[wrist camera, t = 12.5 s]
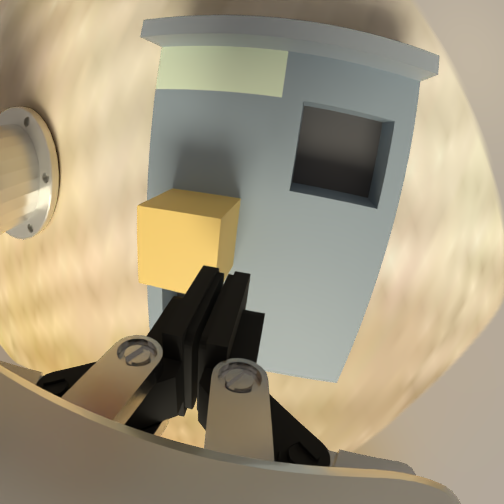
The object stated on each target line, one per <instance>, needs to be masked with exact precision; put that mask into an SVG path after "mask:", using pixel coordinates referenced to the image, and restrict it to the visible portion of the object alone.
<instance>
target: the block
mask: <svg viewBox="0 0 504 504" xmlns="http://www.w3.org/2000/svg"><path fill="white" fill-rule="evenodd" d="M240 201H241V198H235V197H228V196H222V195H215V194H209V193H202V192H195V191H188V190H181V189H173V188H172V189H170V190H168V191H166V192H164V193H162V194H160V195H158V196H156V197H153V198H151V199H149V200H147V201H145V202H143V203H141V204H140V205H138V206H137V247H138V276H139V283H143V284H147V285H151V286H155V287H159V288H163V289H167V290H171V291H175V292H179V293H184V294H186V292H187V290H188V289H189V287H190V286H191V284H192V282H193V281H194V279H195V278H196V276H197V274H198V273H199V271H200V270H201V268H202V267H203V265H205V266H211V267H216V268H219V272H221V273H224V281H225V279H226V277H227V275H228V274H229V272H230V270H231V268H232V266H233V261H234V252H235V243H236V235H237V226H238V218H239V210H240Z"/></svg>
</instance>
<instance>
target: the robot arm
mask: <svg viewBox="0 0 504 504" xmlns="http://www.w3.org/2000/svg"><path fill="white" fill-rule="evenodd" d="M58 188H59V170H58V160H57V154H56V150H55V145H54V142H53V139H52V136H51V133H50V131H49V129H48V127H47V125H46V123H45V122H44V120H43V119H42V118H41V116H40V115H39V114H38V113H36V112H35V111H34V110H33V109H30V108H27V107H12V108H8V109H6V110H4V111H3V112H1V113H0V234H2V233H4V232H6V233H8V234H9V235H10V236H12V237H14V238H17V239H23V240H24V239H29V238H31V237H33V236H35V235H37V234H39V233H40V232H41V231H42V230H44V229H45V227H46V226H47V225H48V223H49V222H50V220H51V217H52V215H53V213H54V210H55V206H56V202H57V196H58ZM250 275H251V274H249V273H244V272H238V271H235V272H234V275H232V274H228V276H227V278H226V280H225V283H224V273H221V272H219V268H216V267H211V266H205V265H203V267H202V268H201V270H200V271H199V273H198V274H197V276H196V278H195V279H194V281H193V282H192V284H191V286H190V287H189V289H188V290H187V292H186V294H185V295H184V297H179V296H173V297H172V299H171V300H170V302H169V303H168V305H167V306H166V308H165V309H164V311H163V312H162V314H161V315H160V317H159V318H158V320H157V321H156V323H155V324H154V326H153V327H152V329H151V330H150V332H149V333H148V335H147V336H142V335H133V336H128V337H125V338H122V339H121V340H119V341H118V342H116V343H115V344H114V345H113V346H112V347H111V348H110V349H109V350H108V351H107V352H106V353H105V354H104V355H103V356H102V357H101V358H100V359H99V360H98V361H97V362H93V363H89V364H85V365H81V366H77V367H73V368H69V369H64V370H60V371H55V372H52V373H49V374H46V375H45V376H43V374H42V372H39V371H35V370H31V369H28V368H24V367H20V366H16V365H13V364H10V363H6V362H3V361H0V504H461V503H460V501H459V500H458V498H457V496H456V495H455V494H454V493H453V492H452V491H451V490H450V489H449V488H447V487H446V486H444V485H442V484H440V483H438V482H435V481H433V480H430V479H427V478H423V477H420V476H416V474H415V473H414V471H413V469H412V468H411V467H409V466H408V465H407V464H405V463H402V462H398V461H392V460H386V459H381V458H375V457H370V456H366V455H361V454H356V453H352V452H348V451H343V450H339V451H338V452H333V451H329V450H328V449H327V448H326V447H325V445H324V444H323V443H322V442H321V441H320V440H319V439H317V438H316V437H315V436H314V435H313V434H312V433H311V432H310V431H308V430H307V429H306V428H305V427H304V426H303V425H302V424H301V423H300V422H299V421H297V420H296V419H295V418H294V417H293V416H292V415H291V414H290V413H289V412H288V411H287V410H286V409H285V408H283V407H282V406H281V405H280V404H279V403H278V402H277V401H276V400H275V399H274V398H273V397H272V396H271V395H270V394H269V384H268V377H267V374H266V372H265V371H264V369H263V368H262V367H261V366H260V365H258V364H257V358H258V352H259V347H260V341H261V335H262V330H263V324H264V318H265V313H261V312H255V311H249V310H246V303H247V297H248V290H249V283H250ZM223 283H224V285H223ZM196 399H197V411H198V421H199V423H200V424H201V425H202V426H203V428H204V429H205V430H206V434H205V445H204V448H200V447H196V446H192V445H188V444H184V443H180V442H176V441H173V440H169V439H166V438H163V437H160V436H161V435H162V433H163V432H164V430H165V429H166V427H167V425H168V422H169V421H168V419H170V418H172V417H175V416H178V415H179V416H183V417H184V415H185V413H186V410H187V408H189V409H193V407H194V405H195V402H196Z"/></svg>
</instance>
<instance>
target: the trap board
mask: <svg viewBox="0 0 504 504" xmlns="http://www.w3.org/2000/svg"><path fill="white" fill-rule="evenodd" d="M141 38H144V39H146V40H148V41H150V42H152V43H155V44H157V45H159V46H161V47H162V50H161V56H160V62H159V69H158V76H157V83H156V91H155V100H154V108H153V118H152V128H151V140H150V153H149V169H148V190H147V200H149V199H151V198H153V197H156V196H158V195H160V194H162V193H164V192H166V191H168V190H170V189H172V188H173V189H181V190H188V191H195V192H202V193H209V194H215V195H222V196H228V197H235V198H241V201H240V210H239V218H238V226H237V235H236V243H235V252H234V261H233V266H232V268H231V270H230V272H229V274H232V275H234V272H235V271H238V272H244V273H249V274H251V275H250V283H249V290H248V297H247V303H246V310H249V311H255V312H261V313H265V318H264V324H263V330H262V335H261V341H260V347H259V352H258V358H257V364H258V365H260V366H261V367H262V368H263V369H264V371H268V372H273V373H278V374H284V375H289V376H295V377H301V378H307V379H314V380H320V381H327V382H334V383H337V381H338V379H339V376H340V374H341V372H342V370H343V367H344V365H345V363H346V360H347V358H348V355H349V353H350V351H351V348H352V346H353V343H354V341H355V338H356V336H357V333H358V330H359V328H360V325H361V323H362V320H363V317H364V314H365V312H366V309H367V306H368V303H369V301H370V298H371V295H372V292H373V289H374V286H375V283H376V280H377V277H378V274H379V271H380V267H381V264H382V261H383V258H384V254H385V251H386V248H387V244H388V241H389V237H390V234H391V230H392V226H393V223H394V219H395V215H396V211H397V207H398V203H399V199H400V195H401V190H402V186H403V182H404V177H405V172H406V168H407V163H408V158H409V152H410V147H411V142H412V136H413V130H414V124H415V117H416V110H417V103H418V95H419V87H420V81H423V80H425V79H428V78H430V77H433V76H436V75H438V68H439V55H436V54H434V53H431V52H428V51H425V50H423V49H420V48H417V47H414V46H411V45H408V44H405V43H402V42H399V41H395V40H392V39H388V38H385V37H381V36H378V35H374V34H370V33H366V32H362V31H358V30H353V29H349V28H344V27H339V26H334V25H328V24H322V23H316V22H310V21H303V20H295V19H286V18H276V17H264V16H246V15H196V16H178V17H166V18H156V19H147V20H144V21H143V26H142V31H141ZM227 276H228V275H227ZM226 278H227V277H226ZM225 280H226V279H225ZM224 283H225V281H224ZM224 283H223V285H224ZM147 289H148V310H149V326H150V330H151V329H152V327H153V326H154V324H155V323H156V321H157V320H158V318H159V317H160V315H161V314H162V312H163V311H164V309H165V308H166V306H167V305H168V303H169V302H170V300H171V299H172V297H173V296H179V297H184V295H185V294H184V293H179V292H175V291H171V290H167V289H163V288H159V287H155V286H151V285H147Z"/></svg>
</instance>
